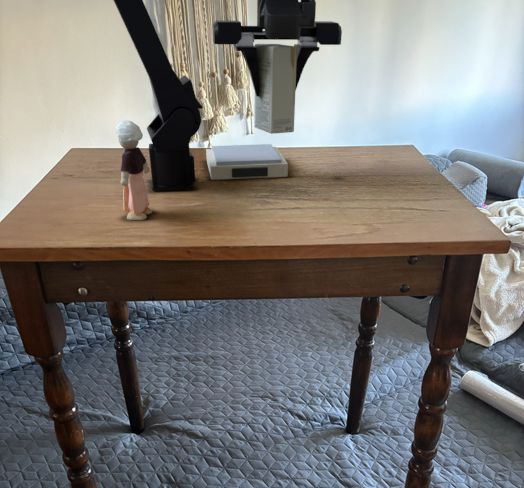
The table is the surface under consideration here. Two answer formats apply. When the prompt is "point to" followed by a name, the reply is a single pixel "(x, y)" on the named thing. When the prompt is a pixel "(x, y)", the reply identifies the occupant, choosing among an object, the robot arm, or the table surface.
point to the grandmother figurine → (133, 171)
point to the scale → (245, 162)
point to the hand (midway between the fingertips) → (274, 96)
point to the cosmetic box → (275, 88)
